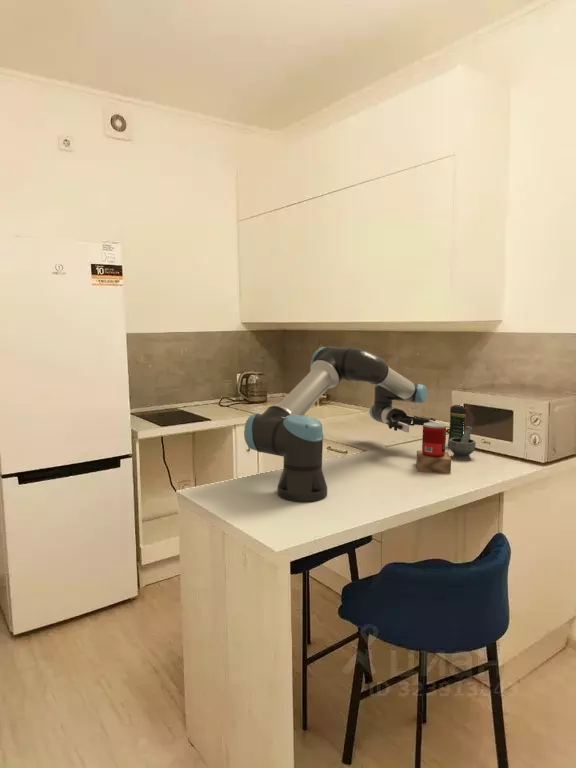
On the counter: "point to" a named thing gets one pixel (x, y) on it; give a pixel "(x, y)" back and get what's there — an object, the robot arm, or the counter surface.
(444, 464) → the block
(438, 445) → the canned food
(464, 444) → the mortar and pestle
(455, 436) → the coffee jar
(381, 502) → the counter surface
